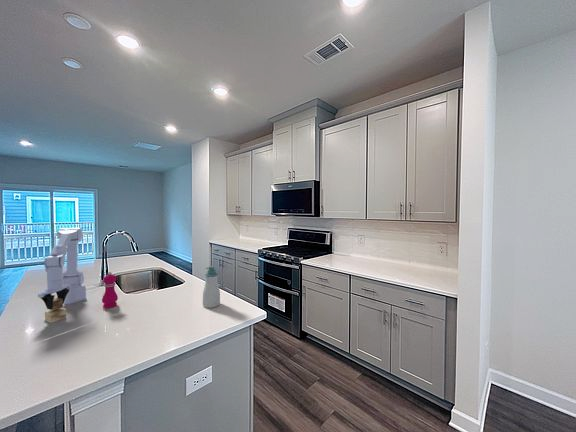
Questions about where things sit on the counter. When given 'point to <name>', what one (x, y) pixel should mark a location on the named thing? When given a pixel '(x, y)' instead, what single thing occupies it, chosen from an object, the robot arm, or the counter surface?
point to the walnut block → (57, 303)
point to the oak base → (55, 314)
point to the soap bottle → (211, 289)
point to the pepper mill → (109, 291)
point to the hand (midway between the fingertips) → (55, 306)
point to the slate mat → (53, 321)
